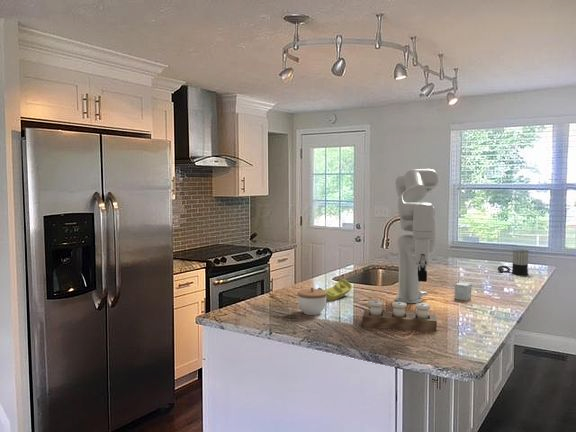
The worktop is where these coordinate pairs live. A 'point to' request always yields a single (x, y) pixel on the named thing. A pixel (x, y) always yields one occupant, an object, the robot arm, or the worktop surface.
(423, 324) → the mount
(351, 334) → the worktop surface
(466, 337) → the worktop surface
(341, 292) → the plastic component
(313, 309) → the lidded bowl
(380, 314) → the knob
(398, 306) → the knob
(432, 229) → the robot arm
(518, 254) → the milk frother
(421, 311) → the knob
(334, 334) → the worktop surface
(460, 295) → the product box
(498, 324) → the worktop surface
